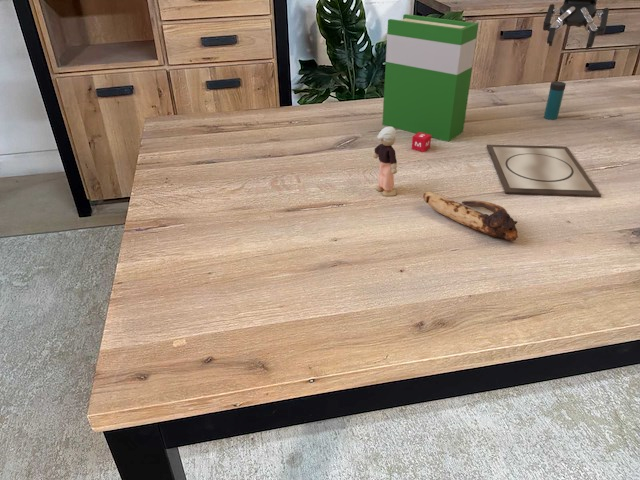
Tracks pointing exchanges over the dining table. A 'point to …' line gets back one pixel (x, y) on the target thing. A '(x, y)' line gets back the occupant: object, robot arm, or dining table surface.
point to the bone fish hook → (476, 215)
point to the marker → (554, 100)
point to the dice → (421, 142)
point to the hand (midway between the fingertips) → (568, 46)
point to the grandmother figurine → (386, 161)
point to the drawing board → (540, 171)
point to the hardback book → (428, 75)
